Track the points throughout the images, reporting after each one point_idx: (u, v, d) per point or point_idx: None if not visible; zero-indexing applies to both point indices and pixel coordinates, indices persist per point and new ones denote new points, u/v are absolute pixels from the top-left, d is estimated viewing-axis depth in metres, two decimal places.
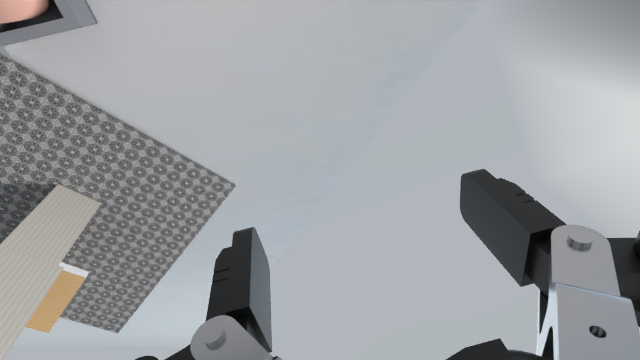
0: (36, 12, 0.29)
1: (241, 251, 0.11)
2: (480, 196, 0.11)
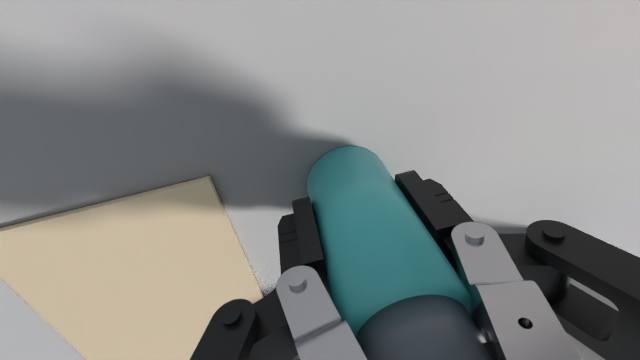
0: None
1: (304, 216, 0.12)
2: (406, 195, 0.12)
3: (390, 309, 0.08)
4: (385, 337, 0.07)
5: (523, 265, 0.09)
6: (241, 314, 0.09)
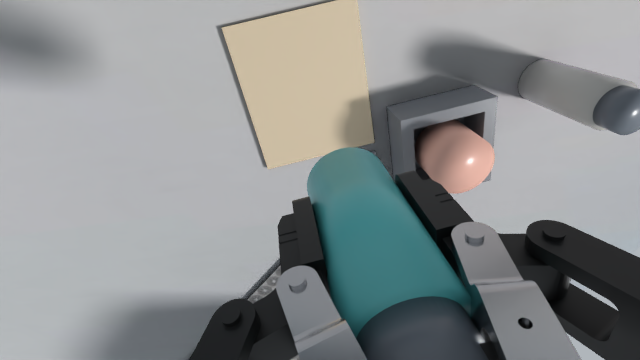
0: None
1: (304, 215, 0.12)
2: (406, 195, 0.12)
3: (390, 311, 0.08)
4: (385, 339, 0.07)
5: (523, 265, 0.09)
6: (241, 314, 0.09)
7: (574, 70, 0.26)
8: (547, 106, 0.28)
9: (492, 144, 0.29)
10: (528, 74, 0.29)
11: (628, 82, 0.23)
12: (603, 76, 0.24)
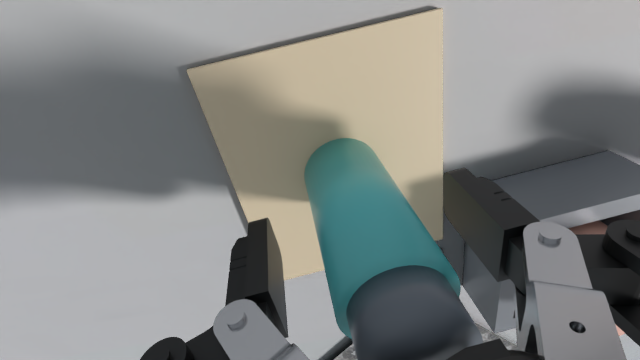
0: None
1: (257, 240, 0.11)
2: (460, 194, 0.12)
3: (378, 278, 0.08)
4: (373, 301, 0.08)
5: (606, 268, 0.08)
6: (171, 353, 0.08)
7: None
8: None
9: None
10: None
11: None
12: None
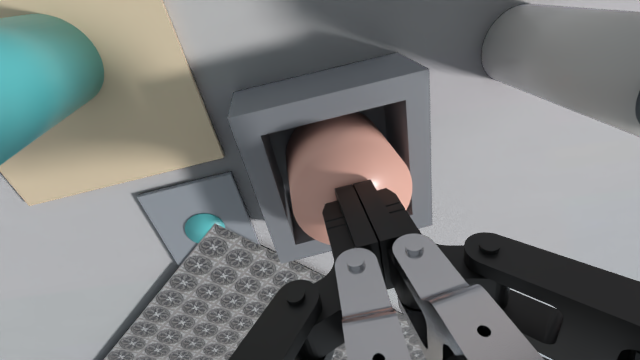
0: None
1: (350, 202, 0.12)
2: (361, 205, 0.12)
3: None
4: None
5: None
6: (305, 296, 0.09)
7: (586, 12, 0.12)
8: (534, 91, 0.14)
9: (428, 163, 0.15)
10: (497, 33, 0.15)
11: None
12: None
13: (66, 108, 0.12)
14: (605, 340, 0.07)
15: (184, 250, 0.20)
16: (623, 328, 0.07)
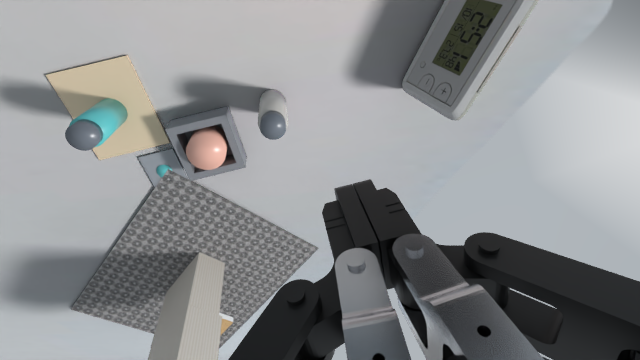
0: None
1: (350, 202, 0.12)
2: (361, 205, 0.12)
3: (77, 121, 0.36)
4: None
5: None
6: (305, 296, 0.09)
7: (266, 99, 0.42)
8: None
9: (236, 144, 0.45)
10: None
11: (273, 108, 0.39)
12: (268, 104, 0.40)
13: (117, 127, 0.41)
14: (605, 340, 0.07)
15: (156, 180, 0.49)
16: (623, 328, 0.07)
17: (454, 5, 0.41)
